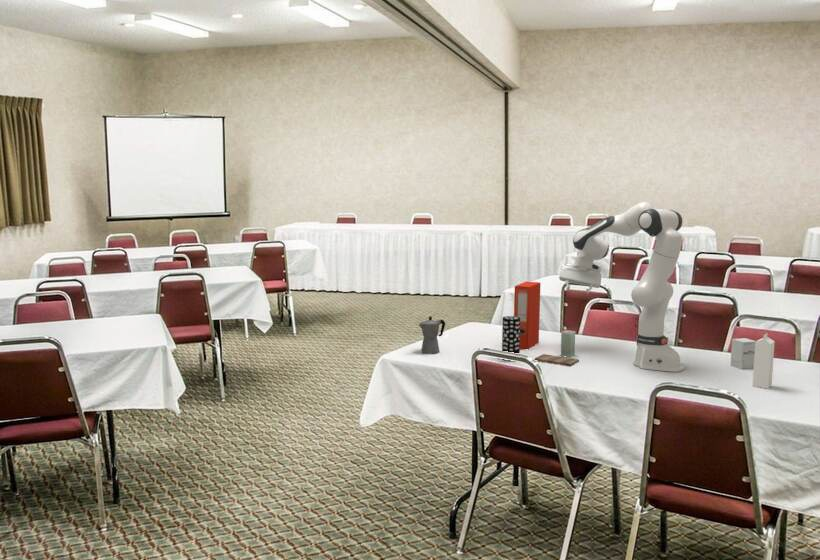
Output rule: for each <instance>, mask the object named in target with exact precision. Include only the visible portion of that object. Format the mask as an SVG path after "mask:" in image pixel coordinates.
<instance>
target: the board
mask: <svg viewBox="0 0 820 560" xmlns="http://www.w3.org/2000/svg"><path fill="white" fill-rule="evenodd" d="M535 360H538V361H537V362H539V361H541V363H545V362H547V364H552V363H554V364H553V365H558V364H560V366H565V365H566V366H565V367H573V366H575V365H576V364H578V363H579V362H580V360H579V359H578V358H572V357H571V358H570V357H564V356H561V355H560V356H559V355H553V354H545V353H543V354H541V355H538V356H537V357H535V358H534V361H535ZM577 362H578V363H577ZM575 363H576V364H575Z"/></svg>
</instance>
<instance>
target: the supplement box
mask: <svg viewBox="0 0 820 560" xmlns="http://www.w3.org/2000/svg"><path fill="white" fill-rule="evenodd" d="M756 341H757V340H753V339H749V338H746V337H742V338H732V339H731V351H730V366H731V367H734V368H737V369H739V370H743V369H754V356H755V342H756Z"/></svg>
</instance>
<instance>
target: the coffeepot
mask: <svg viewBox="0 0 820 560" xmlns="http://www.w3.org/2000/svg"><path fill="white" fill-rule="evenodd" d="M432 319H433V316H428V320H427V319H426V320H423V321H421V322H420V323H419V324H418V326H419V327H420V328H421V331H422V336H423V339H422V343H421V345H422V346H421V350H420V351H421V353H422V354H425V355H435V354H439V353H440V346H439V341H438V337H442V336H443V333H444V330H445V328H446V321H444V320H443V319H438V320H437V319H436V320H432ZM440 325H441V327H440ZM440 328H441V329H440ZM439 330H440V333H439Z"/></svg>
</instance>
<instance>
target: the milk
mask: <svg viewBox="0 0 820 560" xmlns="http://www.w3.org/2000/svg"><path fill="white" fill-rule="evenodd" d="M755 341H756V342H755V356H754V368H753V373H752V387H754V386H755V388H760V387H761V389H766V388H768V389H770V388H771V387H772V386H771V385H772V383H773V372H774V370H773V369H774V358H775V357H774V355H775V342H776V341H775V340H773V339H771V337H769V336H768V333H767V332H766V333H765V334H764V335H763V337H762V338H760V339H758V340H755ZM770 386H771V387H770Z"/></svg>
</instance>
